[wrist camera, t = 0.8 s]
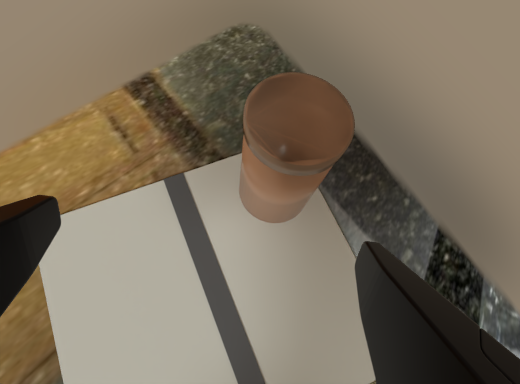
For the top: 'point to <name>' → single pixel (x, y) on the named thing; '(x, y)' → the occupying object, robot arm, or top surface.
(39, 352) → the top surface
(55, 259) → the mat
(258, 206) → the canister
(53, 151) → the top surface
